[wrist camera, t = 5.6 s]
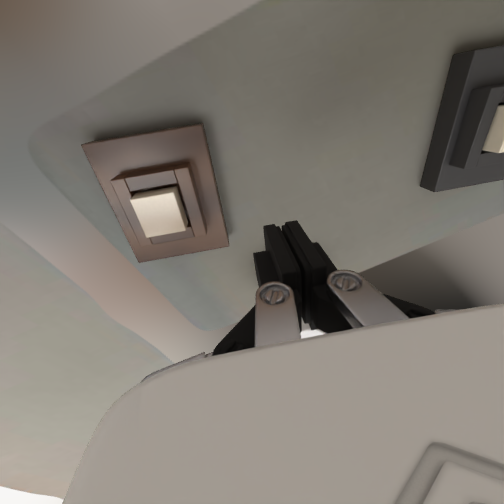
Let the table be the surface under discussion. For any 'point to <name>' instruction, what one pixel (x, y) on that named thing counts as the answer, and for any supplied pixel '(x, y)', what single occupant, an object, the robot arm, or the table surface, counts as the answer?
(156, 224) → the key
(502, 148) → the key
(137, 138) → the brown stepped switch base
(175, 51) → the table surface
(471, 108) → the stepped wall plate
